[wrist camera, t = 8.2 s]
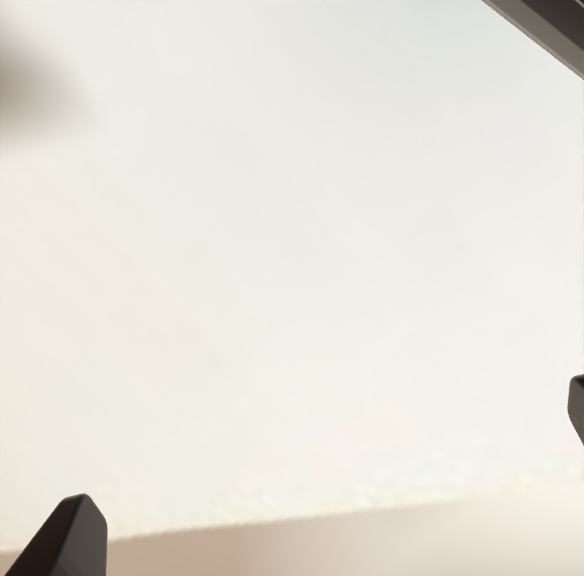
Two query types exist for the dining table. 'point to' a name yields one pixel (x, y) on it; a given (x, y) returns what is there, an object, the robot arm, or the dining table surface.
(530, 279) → the dining table surface
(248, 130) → the dining table surface
